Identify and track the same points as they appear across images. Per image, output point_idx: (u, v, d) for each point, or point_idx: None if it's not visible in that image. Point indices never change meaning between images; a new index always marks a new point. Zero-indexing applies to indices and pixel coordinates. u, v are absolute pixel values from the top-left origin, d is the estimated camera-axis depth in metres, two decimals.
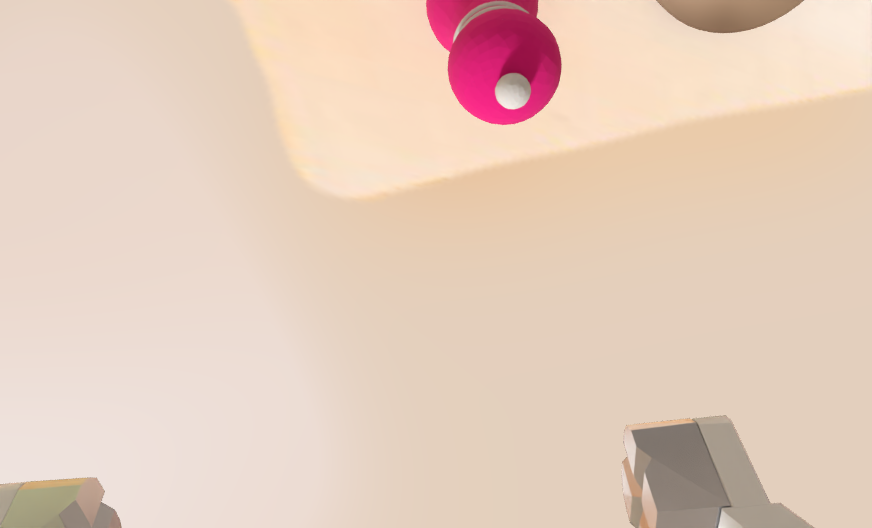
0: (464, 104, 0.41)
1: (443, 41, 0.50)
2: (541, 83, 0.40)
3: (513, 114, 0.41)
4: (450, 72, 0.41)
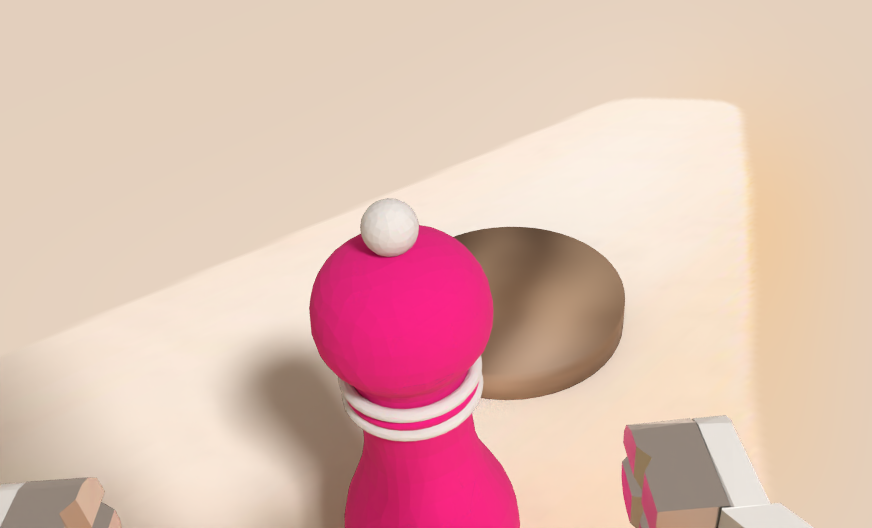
0: (405, 334, 0.23)
1: None
2: None
3: (446, 262, 0.24)
4: (352, 354, 0.23)
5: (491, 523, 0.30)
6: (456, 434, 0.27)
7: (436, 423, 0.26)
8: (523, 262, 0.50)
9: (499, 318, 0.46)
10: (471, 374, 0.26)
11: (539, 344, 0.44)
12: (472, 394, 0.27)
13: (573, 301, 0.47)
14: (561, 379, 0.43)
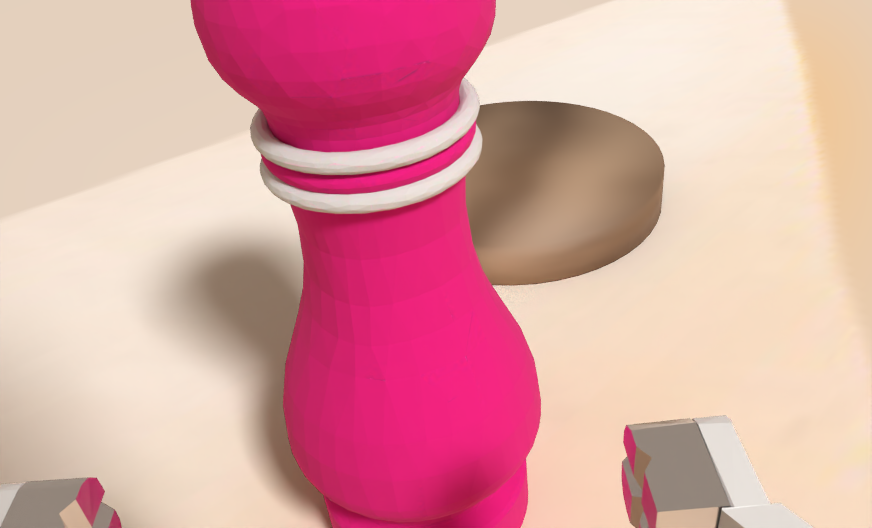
0: None
1: (411, 429, 0.19)
2: None
3: None
4: (249, 14, 0.13)
5: (499, 381, 0.19)
6: (441, 219, 0.17)
7: (406, 180, 0.16)
8: (533, 133, 0.40)
9: (504, 189, 0.36)
10: (462, 109, 0.16)
11: (557, 214, 0.34)
12: (464, 144, 0.16)
13: (597, 168, 0.37)
14: (587, 255, 0.33)
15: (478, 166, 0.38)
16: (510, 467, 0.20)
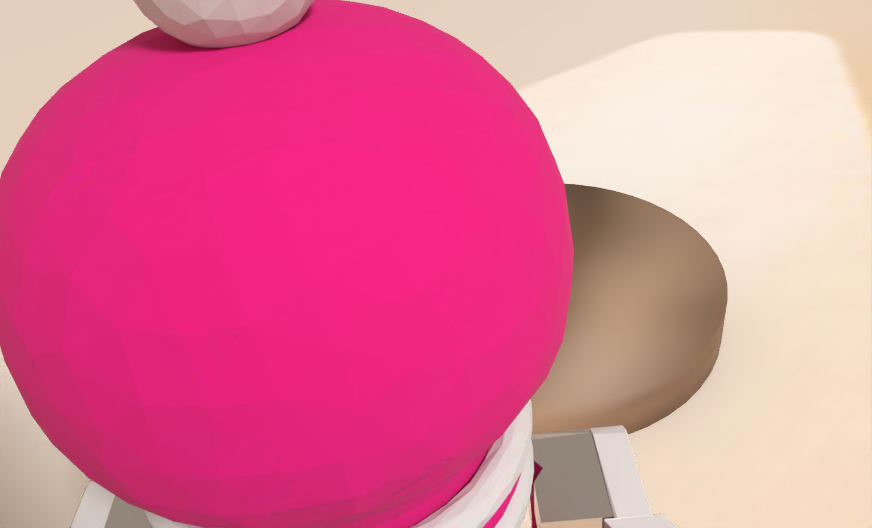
0: (257, 317, 0.06)
1: None
2: (341, 1, 0.08)
3: (422, 68, 0.07)
4: (73, 396, 0.06)
5: None
6: None
7: None
8: None
9: None
10: (505, 441, 0.09)
11: (596, 356, 0.27)
12: (508, 497, 0.09)
13: (643, 286, 0.30)
14: (635, 413, 0.26)
15: None
16: None
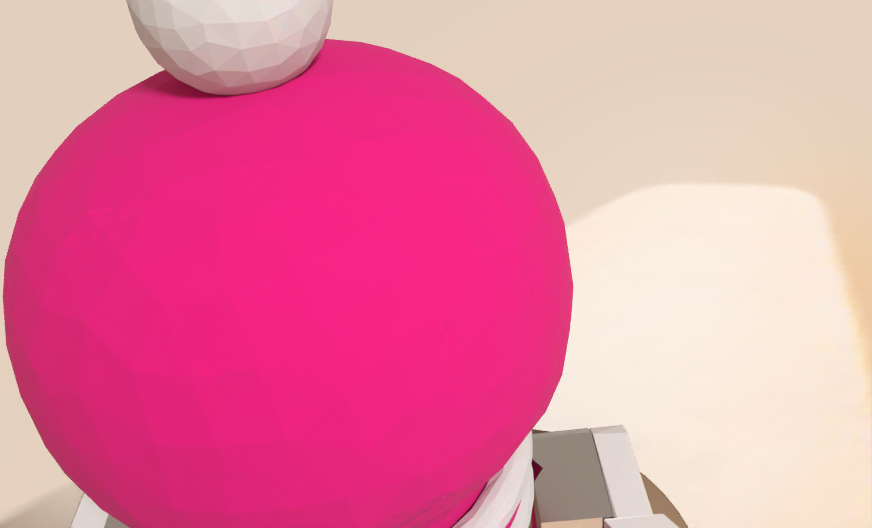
0: (266, 362, 0.06)
1: None
2: (347, 41, 0.09)
3: (427, 114, 0.07)
4: (87, 433, 0.07)
5: None
6: None
7: None
8: None
9: None
10: (505, 469, 0.09)
11: None
12: (508, 523, 0.10)
13: None
14: None
15: None
16: None
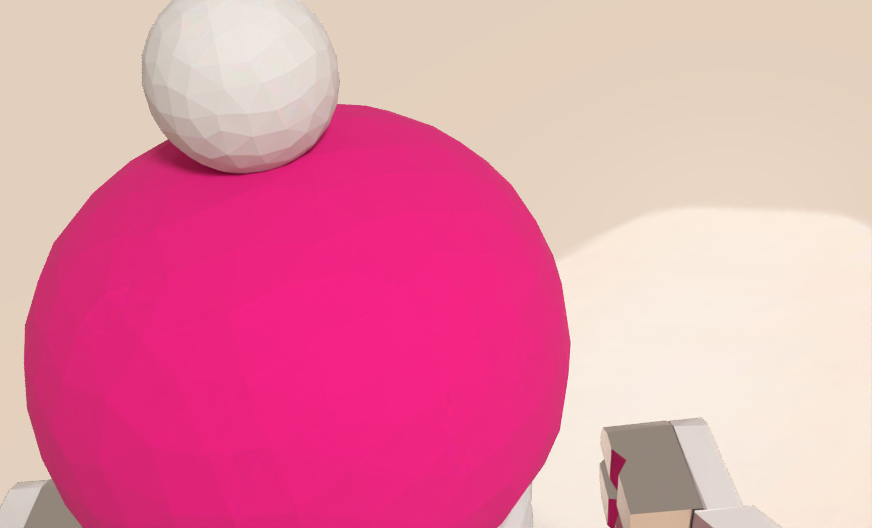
0: (278, 439, 0.06)
1: None
2: (352, 105, 0.09)
3: (429, 190, 0.07)
4: (107, 501, 0.07)
5: None
6: None
7: None
8: None
9: None
10: None
11: None
12: None
13: None
14: None
15: None
16: None
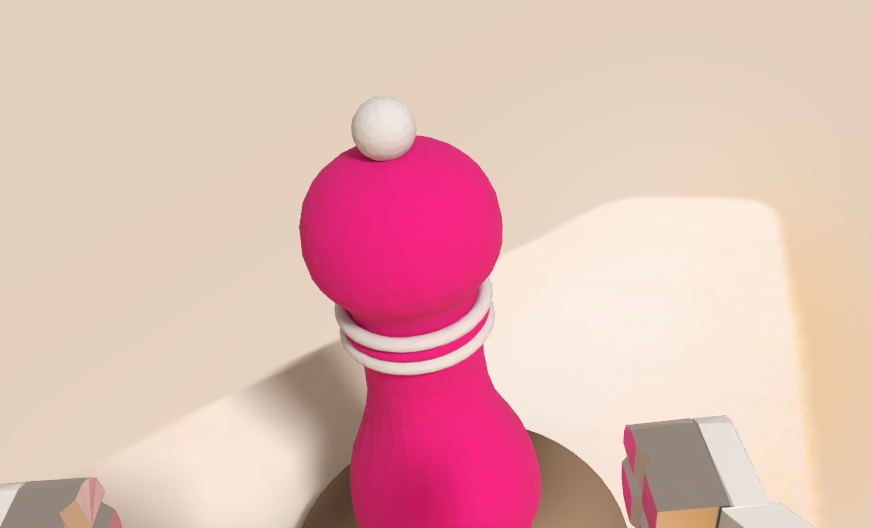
0: (402, 241, 0.21)
1: (446, 512, 0.26)
2: (416, 136, 0.23)
3: (447, 166, 0.22)
4: (345, 267, 0.21)
5: (508, 475, 0.27)
6: (466, 370, 0.25)
7: (443, 353, 0.23)
8: None
9: None
10: (480, 300, 0.24)
11: None
12: (482, 323, 0.24)
13: None
14: None
15: None
16: None
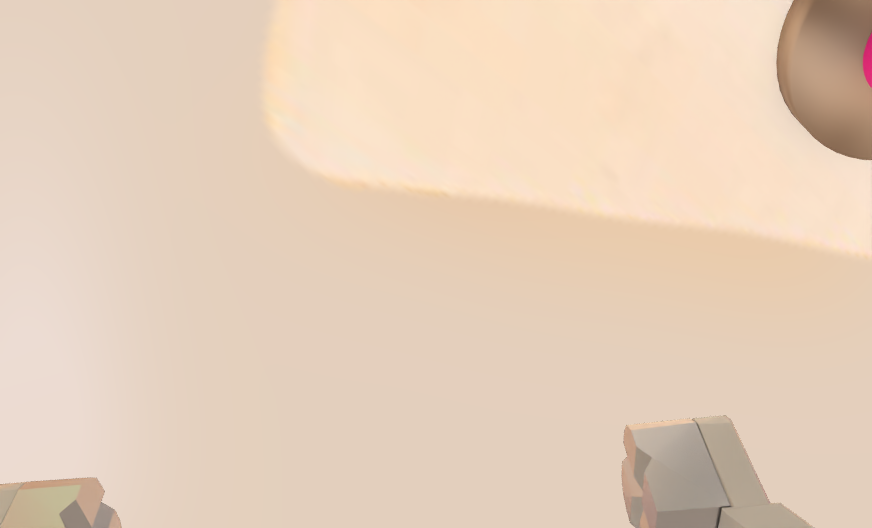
0: None
1: None
2: None
3: None
4: None
5: None
6: None
7: None
8: None
9: None
10: None
11: (826, 77, 0.43)
12: None
13: None
14: (784, 89, 0.45)
15: None
16: None
